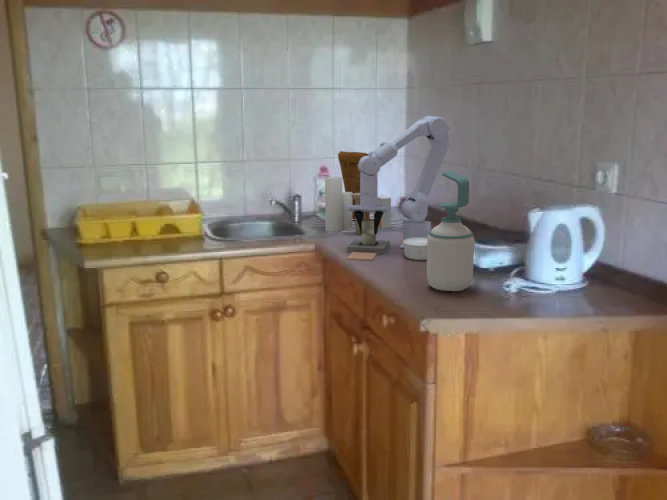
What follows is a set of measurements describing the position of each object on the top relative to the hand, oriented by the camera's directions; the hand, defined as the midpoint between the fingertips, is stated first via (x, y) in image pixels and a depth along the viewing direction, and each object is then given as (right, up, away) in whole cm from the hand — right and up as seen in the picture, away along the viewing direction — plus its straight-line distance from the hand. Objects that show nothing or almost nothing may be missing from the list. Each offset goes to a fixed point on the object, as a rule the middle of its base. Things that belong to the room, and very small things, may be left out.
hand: (368, 233), depth 229 cm
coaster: (-3, -8, -9) cm, 12 cm away
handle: (-2, 0, +25) cm, 26 cm away
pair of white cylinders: (-10, +2, +34) cm, 36 cm away
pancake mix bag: (-2, +6, +52) cm, 52 cm away
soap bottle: (+19, -16, -43) cm, 50 cm away
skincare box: (+7, +3, +37) cm, 38 cm away
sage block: (0, -3, +1) cm, 3 cm away
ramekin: (+16, -8, -9) cm, 20 cm away
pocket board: (0, -5, +1) cm, 6 cm away
